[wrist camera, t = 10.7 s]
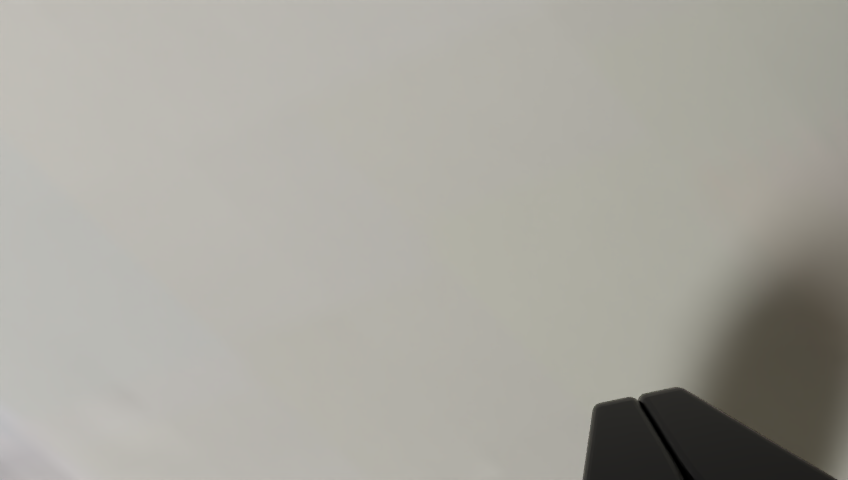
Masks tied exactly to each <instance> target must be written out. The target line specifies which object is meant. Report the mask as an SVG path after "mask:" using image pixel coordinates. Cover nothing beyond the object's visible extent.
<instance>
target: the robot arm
mask: <svg viewBox="0 0 848 480" xmlns="http://www.w3.org/2000/svg"><path fill="white" fill-rule="evenodd" d="M583 480H837V479H835V478H833V477H832V476H830V475H828V474H827V473H825V472H823V471H822V470H820V469H818V468H817V467H815V466H813V465H811V464H810V463H808V462H806V461H805V460H803V459H801V458H800V457H798V456H796V455H795V454H793V453H791V452H790V451H788V450H786V449H784V448H783V447H781V446H779V445H778V444H776V443H774V442H773V441H771V440H769V439H768V438H766V437H764V436H763V435H761V434H759V433H758V432H756V431H754V430H752V429H751V428H749V427H747V426H746V425H744V424H742V423H741V422H739V421H737V420H736V419H734V418H732V417H731V416H729V415H727V414H726V413H724V412H722V411H720V410H719V409H717V408H715V407H714V406H712V405H710V404H709V403H707V402H705V401H704V400H702V399H700V398H699V397H697V396H695V395H693V394H692V393H690V392H688V391H687V390H685V389H683V388H679V387H673V388H669V389H664V390H659V391H654V392H650V393H645V394H642V395H641V396H640V397H639V399H638V401H637V400H636V399H635V398H632V397H626V398H621V399H617V400H612V401H607V402H602V403H599V404H597V405H595V406H594V408H593V412H592V419H591V425H590V432H589V439H588V446H587V453H586V460H585V467H584V474H583Z"/></svg>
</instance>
